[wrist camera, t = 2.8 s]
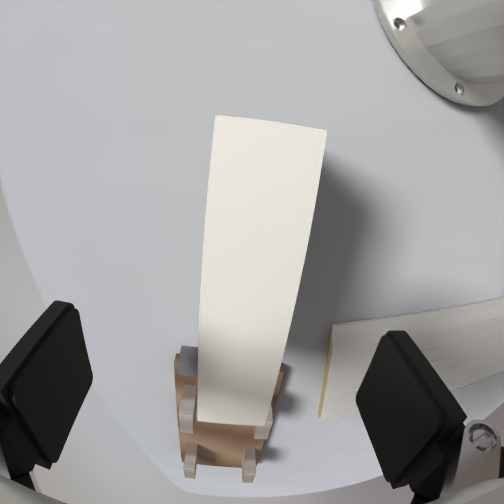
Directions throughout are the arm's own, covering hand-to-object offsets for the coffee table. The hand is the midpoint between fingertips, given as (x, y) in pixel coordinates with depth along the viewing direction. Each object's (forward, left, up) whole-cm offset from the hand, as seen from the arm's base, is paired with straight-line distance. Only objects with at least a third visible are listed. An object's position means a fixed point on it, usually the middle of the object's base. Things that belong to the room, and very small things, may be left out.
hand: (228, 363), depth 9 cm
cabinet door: (-1, 0, -11) cm, 11 cm away
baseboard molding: (+7, +23, -11) cm, 27 cm away
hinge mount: (+17, 0, -11) cm, 20 cm away
